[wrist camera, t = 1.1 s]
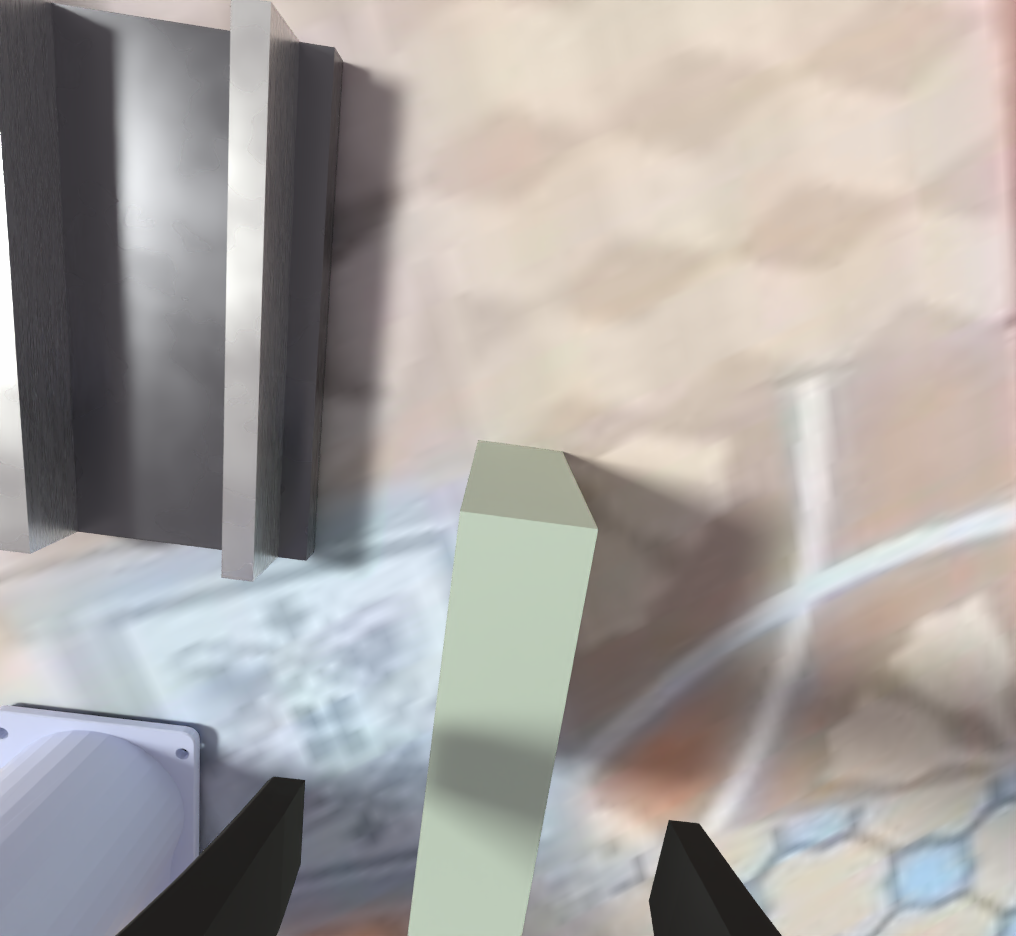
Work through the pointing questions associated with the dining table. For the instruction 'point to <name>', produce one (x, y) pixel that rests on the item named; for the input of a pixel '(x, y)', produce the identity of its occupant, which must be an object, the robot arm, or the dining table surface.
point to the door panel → (501, 689)
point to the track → (164, 279)
